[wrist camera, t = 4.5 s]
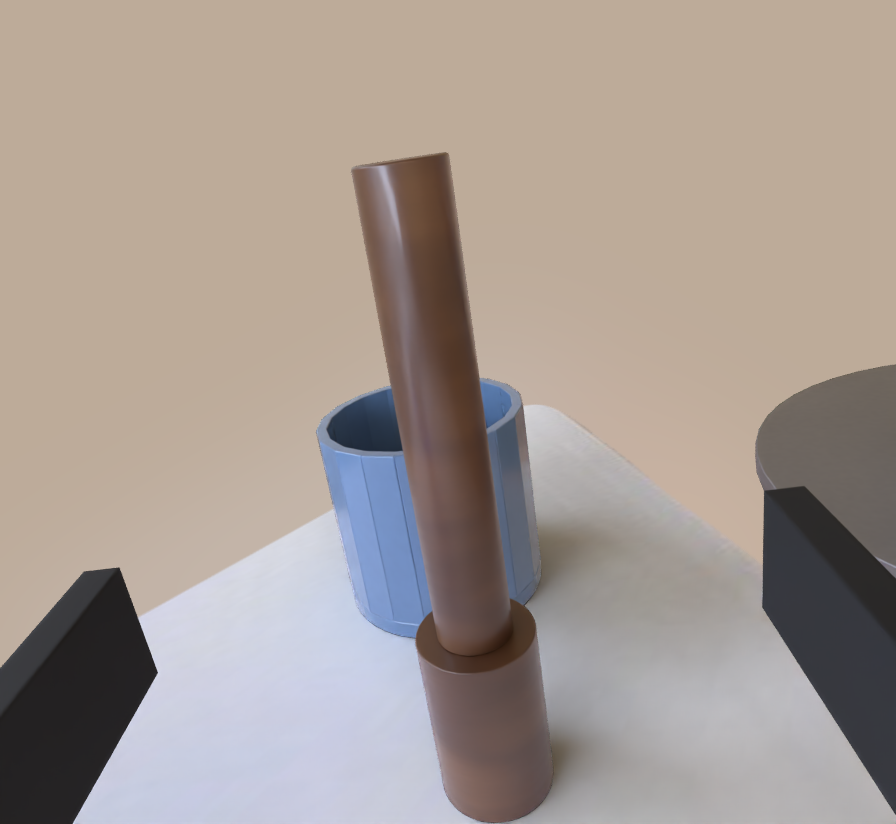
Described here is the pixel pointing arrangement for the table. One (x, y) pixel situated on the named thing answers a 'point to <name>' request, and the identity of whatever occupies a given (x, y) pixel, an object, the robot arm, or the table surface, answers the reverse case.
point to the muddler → (453, 498)
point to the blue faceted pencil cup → (391, 509)
